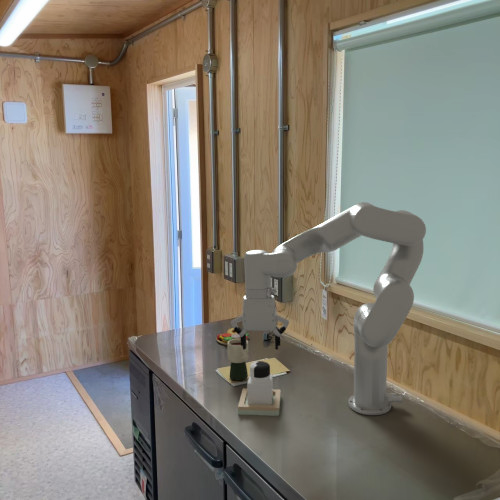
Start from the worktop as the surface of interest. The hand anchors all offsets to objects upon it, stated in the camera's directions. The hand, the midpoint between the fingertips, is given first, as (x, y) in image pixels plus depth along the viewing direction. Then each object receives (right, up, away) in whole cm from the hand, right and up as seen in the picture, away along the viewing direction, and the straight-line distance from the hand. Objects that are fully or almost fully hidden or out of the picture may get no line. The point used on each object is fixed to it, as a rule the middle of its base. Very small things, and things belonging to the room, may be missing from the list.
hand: (260, 347), depth 157 cm
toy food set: (-10, -8, +59) cm, 60 cm away
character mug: (-7, -15, +23) cm, 28 cm away
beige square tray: (0, -18, +3) cm, 19 cm away
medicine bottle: (0, -17, +3) cm, 17 cm away
